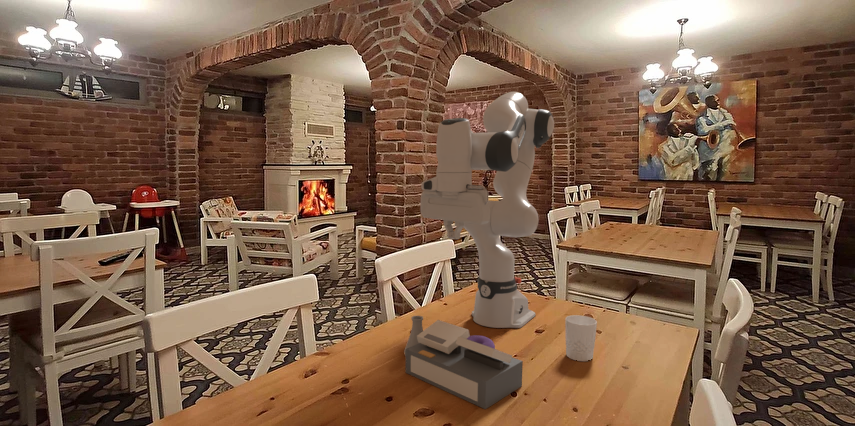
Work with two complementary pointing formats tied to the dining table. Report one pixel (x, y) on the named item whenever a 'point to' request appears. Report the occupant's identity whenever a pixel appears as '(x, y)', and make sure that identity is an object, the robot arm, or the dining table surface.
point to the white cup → (580, 337)
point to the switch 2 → (484, 349)
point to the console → (465, 373)
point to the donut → (482, 340)
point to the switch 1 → (442, 336)
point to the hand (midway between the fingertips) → (453, 238)
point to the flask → (414, 332)
